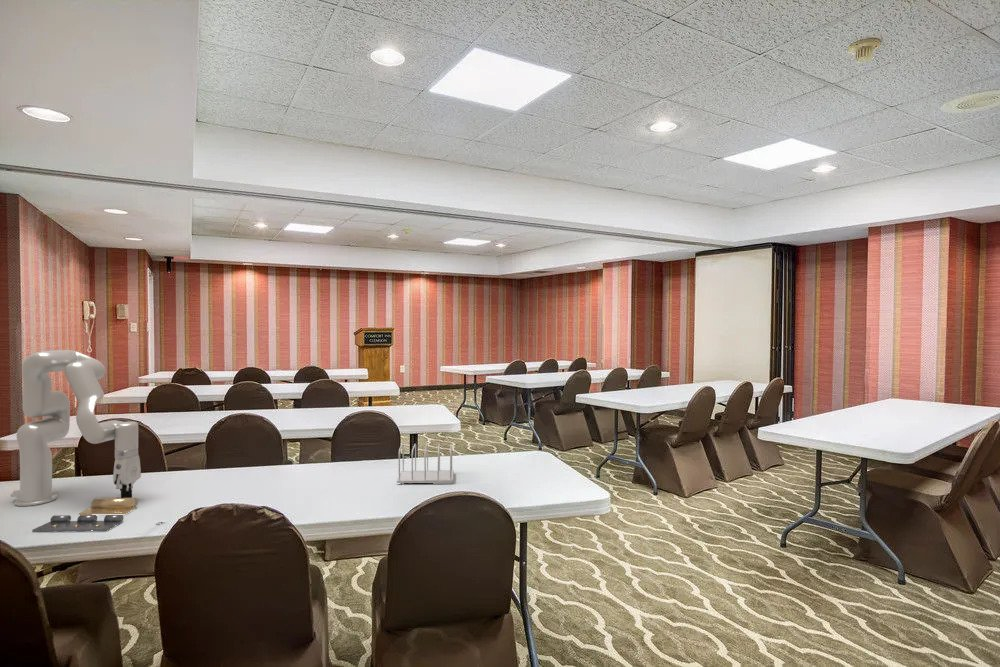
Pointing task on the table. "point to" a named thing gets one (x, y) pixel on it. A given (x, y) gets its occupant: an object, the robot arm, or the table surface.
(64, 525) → the steel hinge leaf
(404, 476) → the file sorter
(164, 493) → the table surface
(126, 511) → the bronze hinge leaf
